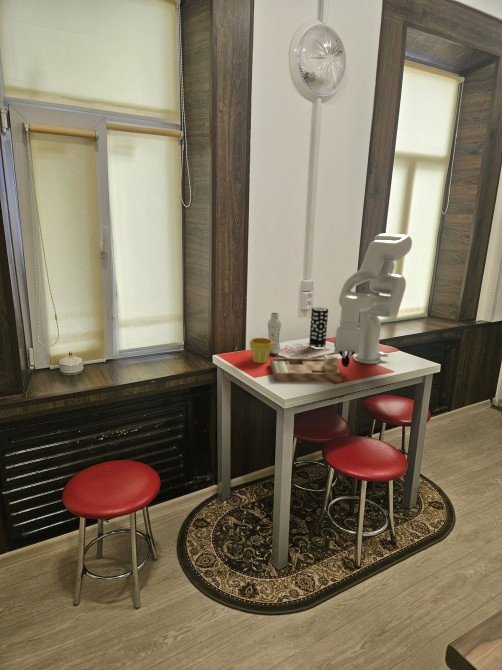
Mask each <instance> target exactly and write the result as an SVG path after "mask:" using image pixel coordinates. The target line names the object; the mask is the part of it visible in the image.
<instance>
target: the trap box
mask: <svg viewBox="0 0 502 670" xmlns="http://www.w3.org/2000/svg"><path fill="white" fill-rule="evenodd" d="M323 363H324V357H323V358H320V357H319V358H318V357H315V358H311V357H309V358H307V357H306V358H303V357H301V358H299V357H297V358H296V357H295V358H294V357H270V363H269V364H270V369H271V371H272V372H271V373H272V375H273V379H274V381H275V382H343V376H344V374H343V372H341V371H340V370H339V367H338V368H337V370H326V369H325V368H324V366H323Z"/></svg>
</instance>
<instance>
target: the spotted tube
mask: <svg viewBox="0 0 502 670" xmlns="http://www.w3.org/2000/svg"><path fill="white" fill-rule="evenodd" d="M310 312H311V314H310V325H309V326H310V328H309V342H308V346H309V345H310V346H314V347H325V348H326V346H327V345H326V343H327V340H326V339H327V329H328V319H329V318H328V317H329V309H328V308H327V307H326V308H325V307H312V308H311V311H310Z"/></svg>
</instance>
